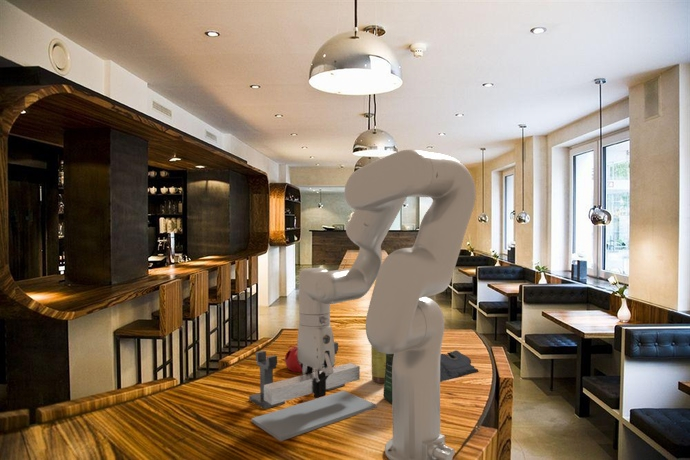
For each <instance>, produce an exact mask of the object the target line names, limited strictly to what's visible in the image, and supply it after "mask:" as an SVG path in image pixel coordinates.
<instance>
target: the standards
mask: <svg viewBox="0 0 690 460" xmlns="http://www.w3.org/2000/svg"><path fill="white" fill-rule="evenodd" d="M334 349H335V355H338V352H339V342H336V341H334ZM255 362H256V365H257V366H258V367H259V383H260V387H259V388H260V390H259V391H260V392H257V393H255V394H254V393H253V394H250V395H248V400H249V401H250V402H251V403H253V404H255V405H257V406H259V407H260V408H262V409H263V410H268V409H270V408H274V407H278V406H281V405H283V404H285V403H286V401H284V402H280V403H277V404H273V405H271V404H269V403H268V402H266V401H264V385H266V384H270V383H274V369H277V366H278V356H277V355H269V356H267V351H266V350H260V351H255ZM333 367H335V365H334V366H333ZM333 367H332V368H333ZM345 385H346V384H342V385H339V386H336V387H332V388H329V389H326V391H331V390H332V391H333V390H334V389H338V388H342V387H345Z"/></svg>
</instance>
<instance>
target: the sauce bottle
mask: <svg viewBox="0 0 690 460" xmlns="http://www.w3.org/2000/svg"><path fill="white" fill-rule="evenodd" d="M370 349H371V350H370V351H371V352H370V353H371V379H372V381H373V383H377V384H383V385H384V380H385V369H386V354H384V353H380V352H378V351H377V350H375V349H374V348H373V347H372V346H371V348H370Z"/></svg>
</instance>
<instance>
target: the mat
mask: <svg viewBox="0 0 690 460" xmlns="http://www.w3.org/2000/svg"><path fill="white" fill-rule="evenodd" d="M373 409H377V404H376V403H374V402H372V401H370V400H366V399H364V398H363V397H360V396H357V395H355V394H353V393H350V392H348V391H346V390H341V391H337V392H334V393H331V394H328V395H325V396H323V397H319V398H314V399H311V400H308V401H304V402H301V403H297V404H295V405H292V406H288V407H284V408H281V409H278V410H274V411H271V412H269V413H268V412H267V413H265V414H261V415H257V416H255V417H252V418H251V419H250V420H251V423H252V424H254V425H256V426H257V427H258V428H260V429H261V430H263V431H265V432H266V433H267V434H268V435H270V436H272V437H274V438H275V439H277V440H278V441H279V442H283V441H285V440H289V439H291V438H294V437H297V436H299V435H303V434H305V433H308V432H312V431H315V430H316V429H320V428H322V427H326V426H329V425H331V424H334V423H337V422H340V421H342V420H345V419H348V418H351V417H354V416H357V415H359V414H361V413H362V414H363V413H365V412H368V411H371V410H373Z"/></svg>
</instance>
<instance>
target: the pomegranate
mask: <svg viewBox="0 0 690 460" xmlns="http://www.w3.org/2000/svg"><path fill="white" fill-rule="evenodd" d="M288 348H290V349H288V351H287V352H286V354H285V357H284V362H285V366H286V368H287V369H288V370H289V371H291V372H293V373H302V368H301V365H300V364H299V362H298V360H297V358H298V357H297V346H295V345H290V346H288Z"/></svg>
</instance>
